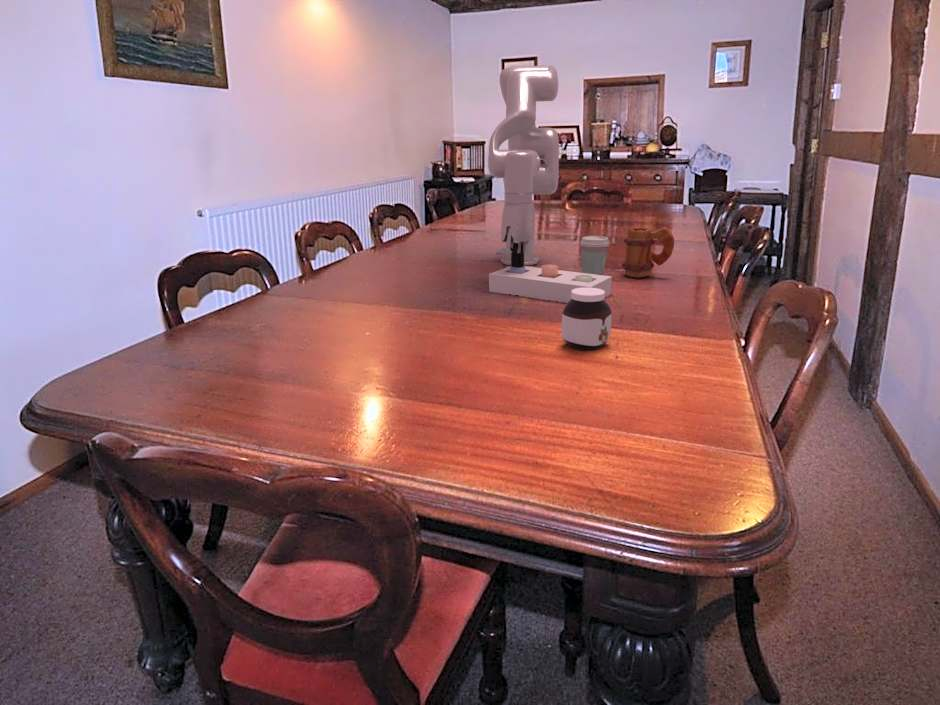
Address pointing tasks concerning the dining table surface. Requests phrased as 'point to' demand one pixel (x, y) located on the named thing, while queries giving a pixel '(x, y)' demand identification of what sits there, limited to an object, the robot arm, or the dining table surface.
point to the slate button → (517, 270)
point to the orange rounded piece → (549, 271)
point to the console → (544, 284)
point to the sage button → (583, 278)
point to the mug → (646, 250)
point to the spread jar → (586, 319)
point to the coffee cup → (594, 254)
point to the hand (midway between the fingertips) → (517, 266)
